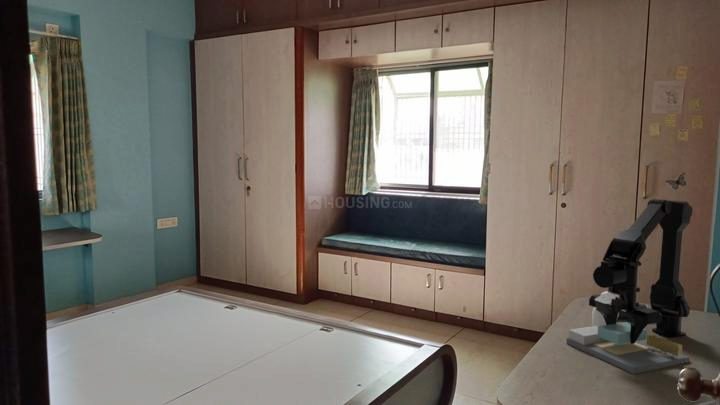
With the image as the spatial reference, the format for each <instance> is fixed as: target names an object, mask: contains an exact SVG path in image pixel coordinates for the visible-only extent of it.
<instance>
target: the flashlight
mask: <svg viewBox="0 0 720 405" xmlns="http://www.w3.org/2000/svg"><path fill="white" fill-rule="evenodd" d="M635 308H636V309H643V308H649V306H648V304H642V303H641V304H640V303H639V307H635ZM627 310H629V309H627ZM617 319H627V320H631V319H633V315H631V314H628V313H625V312H622V311H619V316H618V318H617Z"/></svg>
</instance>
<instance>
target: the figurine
mask: <svg viewBox="0 0 720 405" xmlns="http://www.w3.org/2000/svg"><path fill="white" fill-rule="evenodd" d="M607 292H608V290H606V291H604V292H601V294H604V293H607ZM618 316H619V312H618ZM617 319H619V318H618V317H617ZM604 325H606V322H605V320H604V317H603V315H602V314H601V313H600V312H599V311H597V310H596V307H593V309H592V313H591V326H597V327H598V326H604Z"/></svg>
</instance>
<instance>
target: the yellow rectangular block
mask: <svg viewBox="0 0 720 405" xmlns="http://www.w3.org/2000/svg"><path fill="white" fill-rule="evenodd" d="M646 341H647V342H646V345H649V346H651V347H654V348H657V349H659V353H661V354H667V353H670V354H672V355H675V356H677V357H679V356H682V354H683V344H680V343H677V342H674V341H671V340H668V339H666V338H663V337H660V336H658V335H655V334H653V333H648V334H647V333H646Z"/></svg>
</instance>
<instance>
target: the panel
mask: <svg viewBox="0 0 720 405" xmlns="http://www.w3.org/2000/svg"><path fill="white" fill-rule="evenodd" d="M646 342H647V339H646V340H641V341H636V342H635V343H634V344H631V342H630V343H624V344H615V343H613V342H610V341H608V340H605V339H603V338H600V337H598V327H597V326H592V325H591V326H585V327H578V328H570V329H569V330H568V337H566V342H565V343H566V345H570V346H571V347H573V348H576V349H578V350H580V351H582V352H584V353H587V354H589V355H591V356H593V357H596V358H598V359H600V360H601V361H605V362H606V363H609V364H611V365H613V366H615V367H618V368H620V369H622V370H624V371H625V372H628V373H631V374H632V375H635V374H638V373H644V372H648V371H655V370H659V369H660V370H661V369H665V368H670V367H673V365H674V366H676V365H677V364H678V365H681V364H680V363H682V362H685V363H687V362H686V361H689V362H690V356H689V355H685V354H683V353H682V356H679V357H677V356H675V355H672V354H670V353H667V354H661V353H659V349H657V348H654V347H651V346H649V345H646ZM682 364H683V363H682ZM669 366H670V367H669Z"/></svg>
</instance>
